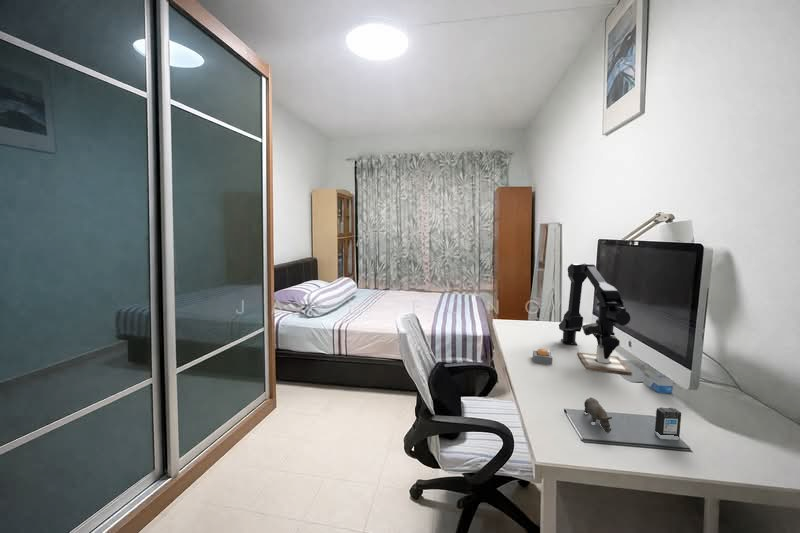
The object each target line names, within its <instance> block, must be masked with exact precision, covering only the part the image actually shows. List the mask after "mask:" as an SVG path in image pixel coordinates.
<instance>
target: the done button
mask: <svg viewBox="0 0 800 533" xmlns="http://www.w3.org/2000/svg"><path fill="white" fill-rule="evenodd" d="M537 351H538V354H537V355H541V356H548V352H549V351H548V350H547V349H544V348H538V349H537Z"/></svg>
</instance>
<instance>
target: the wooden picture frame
mask: <svg viewBox="0 0 800 533" xmlns="http://www.w3.org/2000/svg"><path fill="white" fill-rule="evenodd" d="M596 354H597V353H589V352H580V351H578V352H577V356H578V359H579V360H580V362H581V363H582V365H583V367H584V368H585V370H588V371H596V372H604V373H605V372H606V373H613V374H614V373H615V374H620V373H622V375H628V374H633V372H632V371H631V370H630V369H629V367H628V366H627V365H626V364H625V363H624V362H623V360H622V359H621V358H620V357H619V356H616V355H610V361H609V363H601V362H598V361H597V359H596Z"/></svg>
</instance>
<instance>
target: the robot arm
mask: <svg viewBox="0 0 800 533" xmlns="http://www.w3.org/2000/svg"><path fill="white" fill-rule="evenodd" d="M567 277H568V278H569V281H570V288H569V289H570V290H569V299H568V307H567V308H568V309H567V310H566V312H565V313H564V314H563V318H562V320H561V322H560V323H559V324H558V328H559V330H560V331H561V332H562V338H561V339H560V341H561V343H562V344H565V345H574V346H577V345H578V343H577V341H576V339H577V337H576V336H577V332H580V333H581V331H582V330H583V334H584V335H585V336H590V335H593V336H594V338H596V341H597V345H599V344H601V345H602V346H603V352H604V358H605V359H608V357H609V356H612V353H613V352H614V350H615V349H616V348H618V347H619V346H620V343H621V341H620V340H619V339H618V337H617V336H615V335H616V334H615V332H614V327H615V326H616V324H617V325H619V326H626V325H628V324H629V323H630V321H631V316H630V312H628V311H627V308H626V307H625V305H624V301H623V299H622V297H621V295H620V292H619V290H618V289H617V288H616V287H615V286H614V285H612V284H609V283H607V281H606V280H605V278H604V277H603V275H601V273H600V272H599V271H598V269H597V267H596V264H594V263H571V264H570V265H568V267H567ZM586 279H588V280H589V281H590V284H591V285H592V286H593V287H594V290H595V293H594V294H595V297H596V299H597V301H598V302H597V303H596V306H597V307H598V314H597V315H598V318H596V319H595V322H593V323H588V324H583V323H584V317H583V316H582V315H581V312H580V309H581V308H580V307H581V299H582V290H583V283H584V282H585V280H586Z"/></svg>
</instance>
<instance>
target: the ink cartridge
mask: <svg viewBox="0 0 800 533" xmlns="http://www.w3.org/2000/svg"><path fill="white" fill-rule="evenodd" d="M681 422H682V412H681V411H679V410H678V409H676V408H673V407H657V408H656V410H655V426H654V432H655V431H656V432H658V433H659V434H660V435H674V436H678V437H679V438H680V436H681V435H680V433H681V432H680V431H681Z"/></svg>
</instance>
